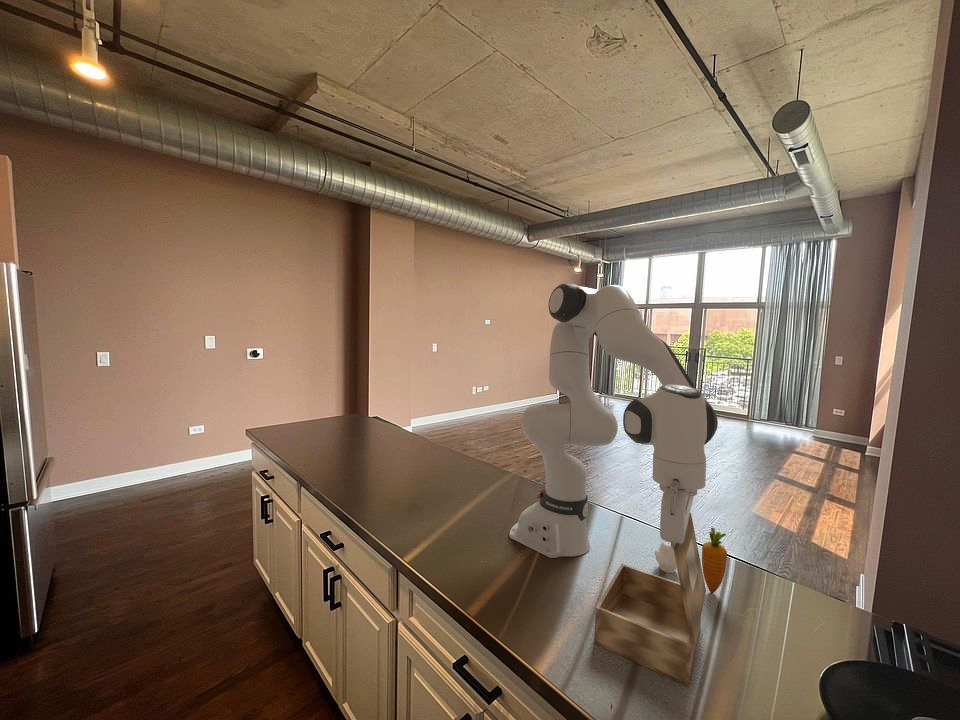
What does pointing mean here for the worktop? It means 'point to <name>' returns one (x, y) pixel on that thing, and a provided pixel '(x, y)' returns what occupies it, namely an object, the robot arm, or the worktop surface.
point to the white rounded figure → (666, 557)
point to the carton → (646, 623)
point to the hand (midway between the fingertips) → (676, 546)
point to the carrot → (714, 561)
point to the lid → (690, 579)
